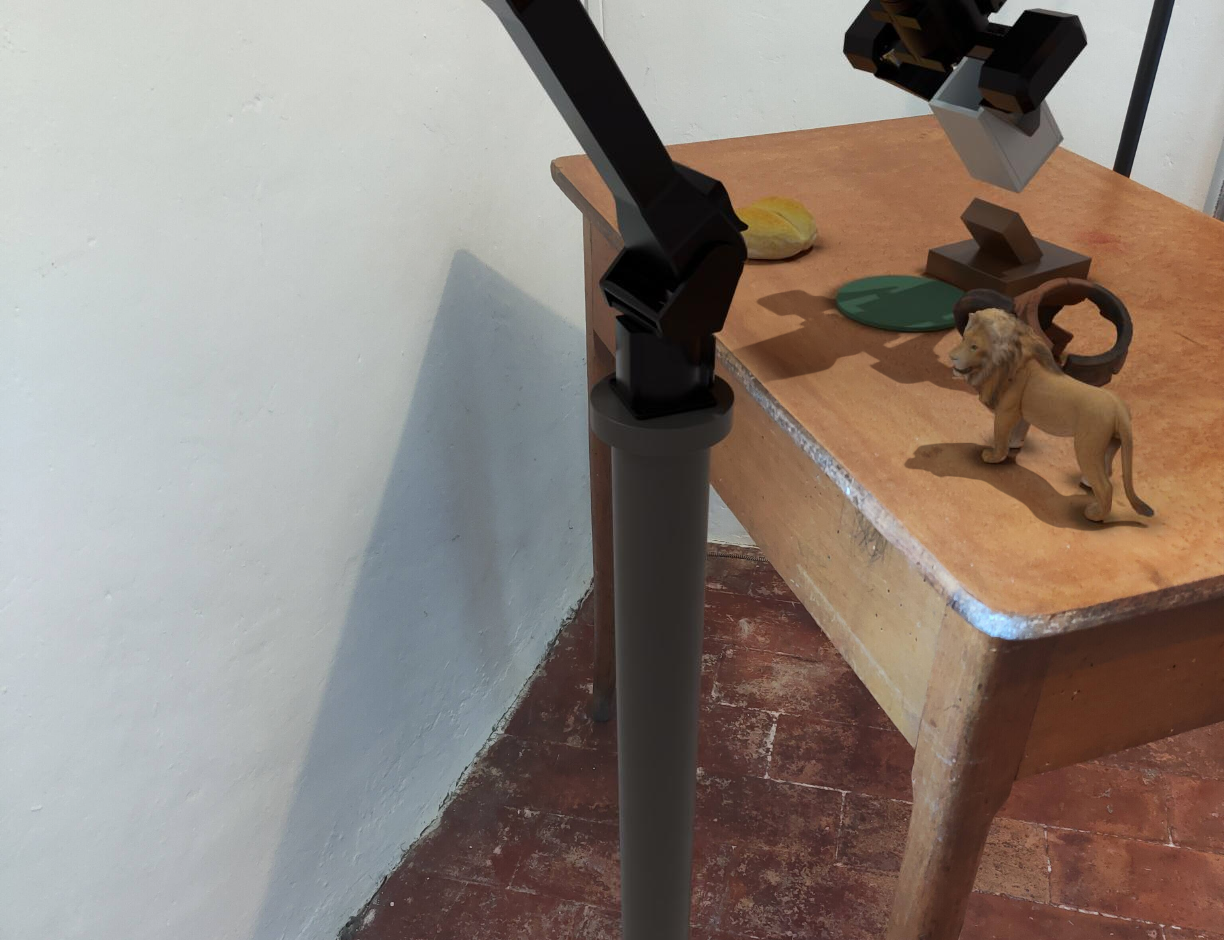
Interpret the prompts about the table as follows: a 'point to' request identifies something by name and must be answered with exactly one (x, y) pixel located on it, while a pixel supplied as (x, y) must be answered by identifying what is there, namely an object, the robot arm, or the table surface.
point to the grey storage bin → (991, 133)
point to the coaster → (900, 302)
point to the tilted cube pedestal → (1002, 254)
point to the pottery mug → (1039, 315)
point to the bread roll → (777, 228)
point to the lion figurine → (1045, 403)
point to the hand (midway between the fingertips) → (996, 120)
